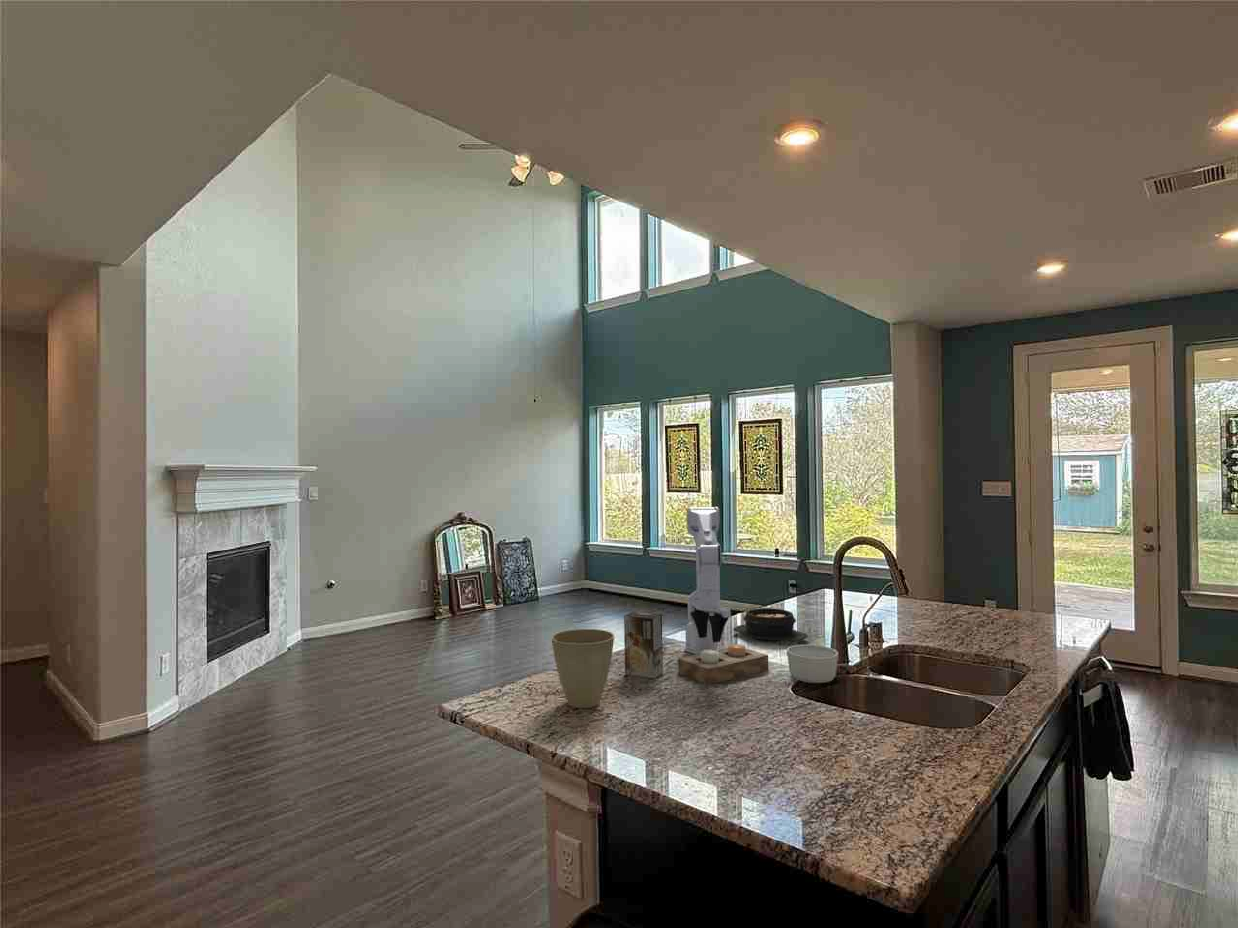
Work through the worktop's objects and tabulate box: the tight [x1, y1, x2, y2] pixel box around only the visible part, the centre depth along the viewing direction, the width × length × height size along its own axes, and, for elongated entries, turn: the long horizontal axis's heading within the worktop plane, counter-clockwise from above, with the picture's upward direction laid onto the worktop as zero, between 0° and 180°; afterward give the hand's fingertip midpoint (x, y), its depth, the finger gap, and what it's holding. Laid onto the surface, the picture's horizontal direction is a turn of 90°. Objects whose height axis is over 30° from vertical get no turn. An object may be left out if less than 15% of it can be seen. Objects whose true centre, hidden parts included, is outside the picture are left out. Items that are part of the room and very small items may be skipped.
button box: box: [677, 647, 769, 685], centre depth 178 cm, size 12×22×4 cm, turn 124°
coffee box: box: [623, 610, 664, 680], centre depth 177 cm, size 9×6×16 cm
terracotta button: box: [727, 643, 747, 658], centre depth 181 cm, size 5×5×4 cm
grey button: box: [701, 650, 719, 664], centre depth 176 cm, size 5×5×4 cm
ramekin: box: [786, 644, 839, 684], centre depth 173 cm, size 13×13×7 cm
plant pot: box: [550, 628, 615, 709], centre depth 155 cm, size 15×15×16 cm
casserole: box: [732, 607, 808, 643], centre depth 214 cm, size 25×19×8 cm
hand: (709, 639), depth 176 cm, fingers open, 5 cm apart
